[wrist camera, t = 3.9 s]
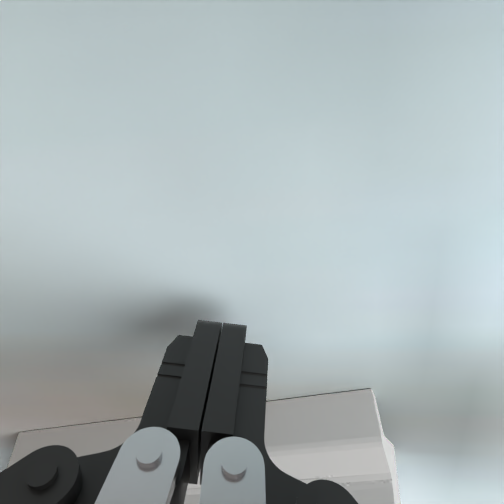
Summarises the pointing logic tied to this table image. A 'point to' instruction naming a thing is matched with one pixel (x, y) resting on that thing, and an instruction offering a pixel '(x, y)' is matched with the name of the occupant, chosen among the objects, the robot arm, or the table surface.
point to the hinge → (277, 443)
